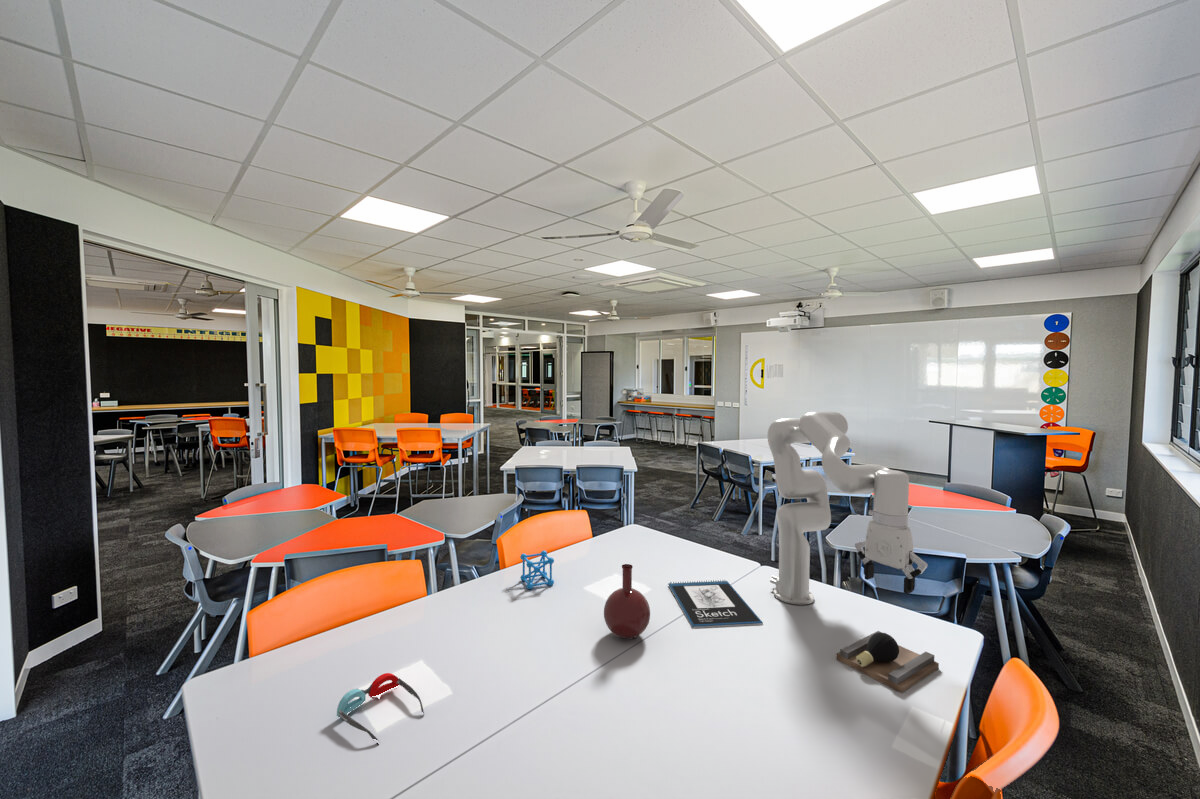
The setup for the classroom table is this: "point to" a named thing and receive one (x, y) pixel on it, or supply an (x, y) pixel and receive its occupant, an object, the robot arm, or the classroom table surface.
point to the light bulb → (879, 650)
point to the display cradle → (891, 665)
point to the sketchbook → (713, 604)
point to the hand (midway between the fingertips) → (888, 585)
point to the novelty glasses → (372, 691)
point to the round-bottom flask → (627, 609)
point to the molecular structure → (537, 569)
